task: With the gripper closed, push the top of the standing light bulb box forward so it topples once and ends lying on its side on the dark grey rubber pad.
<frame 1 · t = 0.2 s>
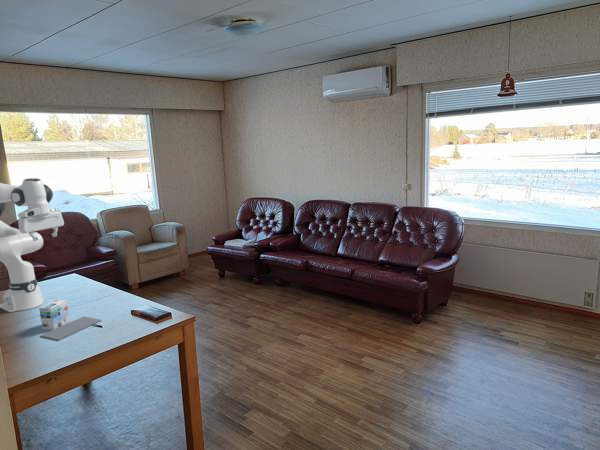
hand: (45, 238, 208), 38 cm above the table, tool pointing down, fingers open, 8 cm apart
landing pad: (72, 328, 194), on the table
light bulb box: (56, 325, 198), on the table
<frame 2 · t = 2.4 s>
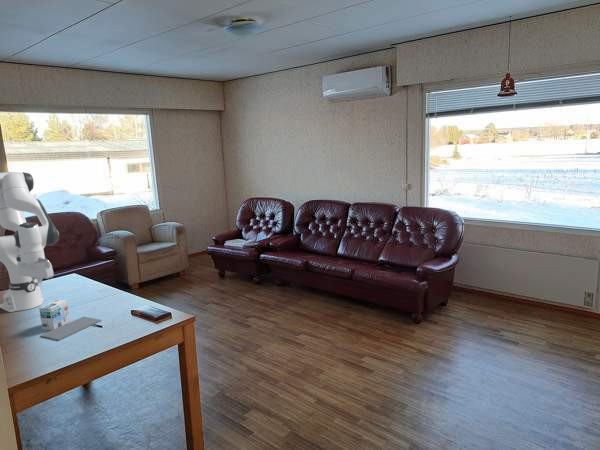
hand: (38, 285, 198), 19 cm above the table, tool pointing down, fingers closed
nothing on the table moved.
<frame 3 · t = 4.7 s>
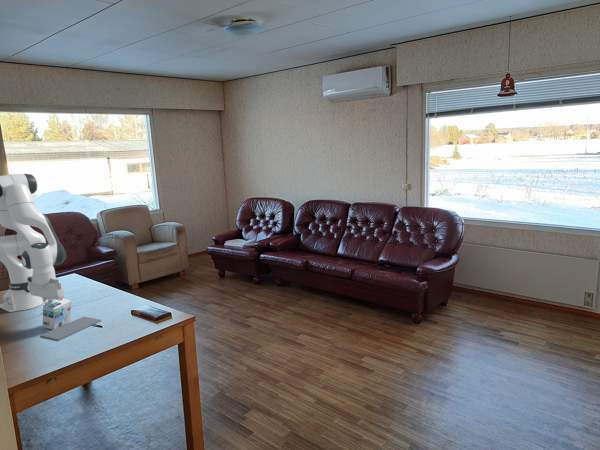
hand: (49, 305, 198), 9 cm above the table, tool pointing down, fingers closed
light bulb box: (56, 324, 198), on the table, touching gripper
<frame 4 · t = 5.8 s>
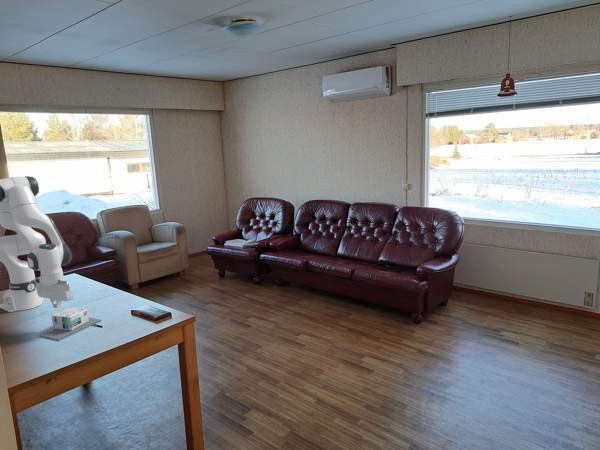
hand: (57, 307, 195), 9 cm above the table, tool pointing down, fingers closed
light bulb box: (60, 317, 197), point 4 cm above the table, touching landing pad
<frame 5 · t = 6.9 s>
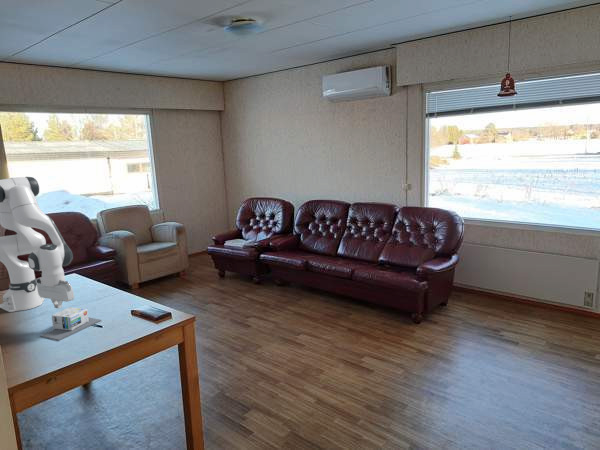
hand: (58, 307, 195), 9 cm above the table, tool pointing down, fingers closed
nothing on the table moved.
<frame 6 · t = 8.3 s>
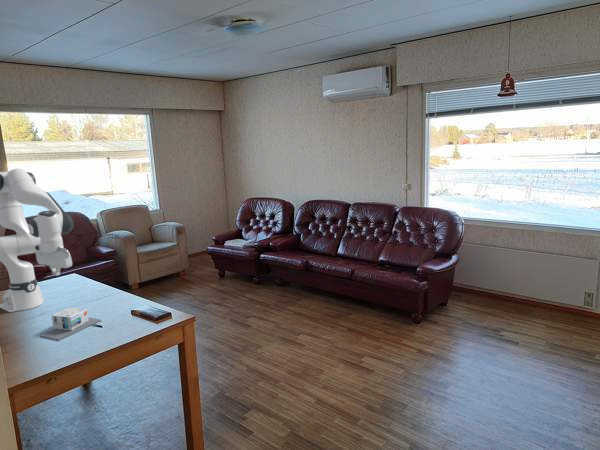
hand: (56, 274, 197), 24 cm above the table, tool pointing down, fingers closed
nothing on the table moved.
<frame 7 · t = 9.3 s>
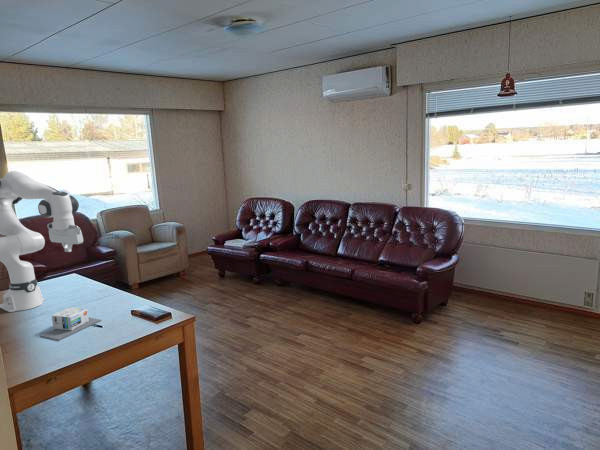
hand: (68, 251, 211), 31 cm above the table, tool pointing down, fingers closed
nothing on the table moved.
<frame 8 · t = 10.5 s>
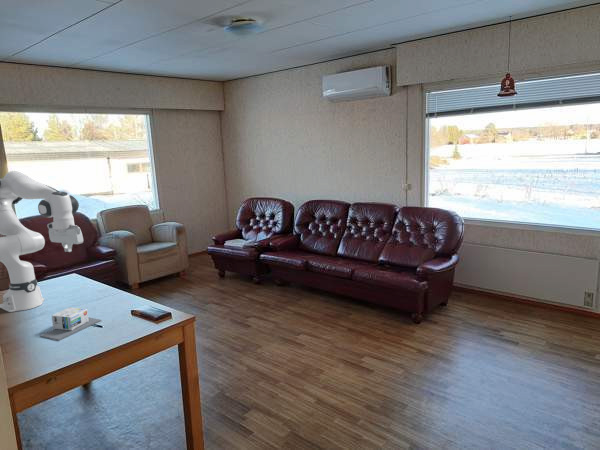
hand: (68, 251, 211), 31 cm above the table, tool pointing down, fingers closed
nothing on the table moved.
at the end: light bulb box tilted 91°; light bulb box inside the target area (4.8 cm from its centre), point 4.0 cm above the table; light bulb box touching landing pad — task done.
